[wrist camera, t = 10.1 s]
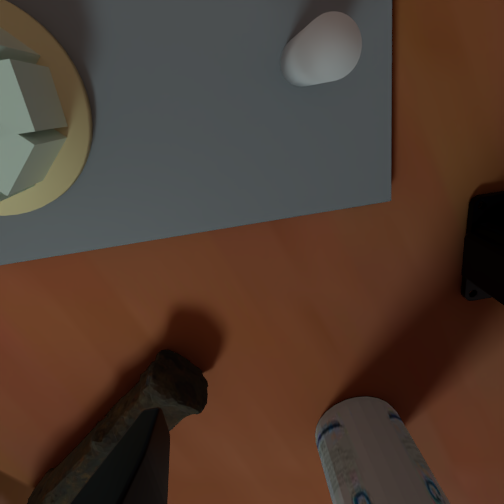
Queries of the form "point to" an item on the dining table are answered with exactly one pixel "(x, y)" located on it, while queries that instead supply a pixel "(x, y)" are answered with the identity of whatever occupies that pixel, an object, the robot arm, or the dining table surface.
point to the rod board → (202, 117)
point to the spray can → (373, 456)
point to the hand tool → (127, 423)
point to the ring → (26, 118)
